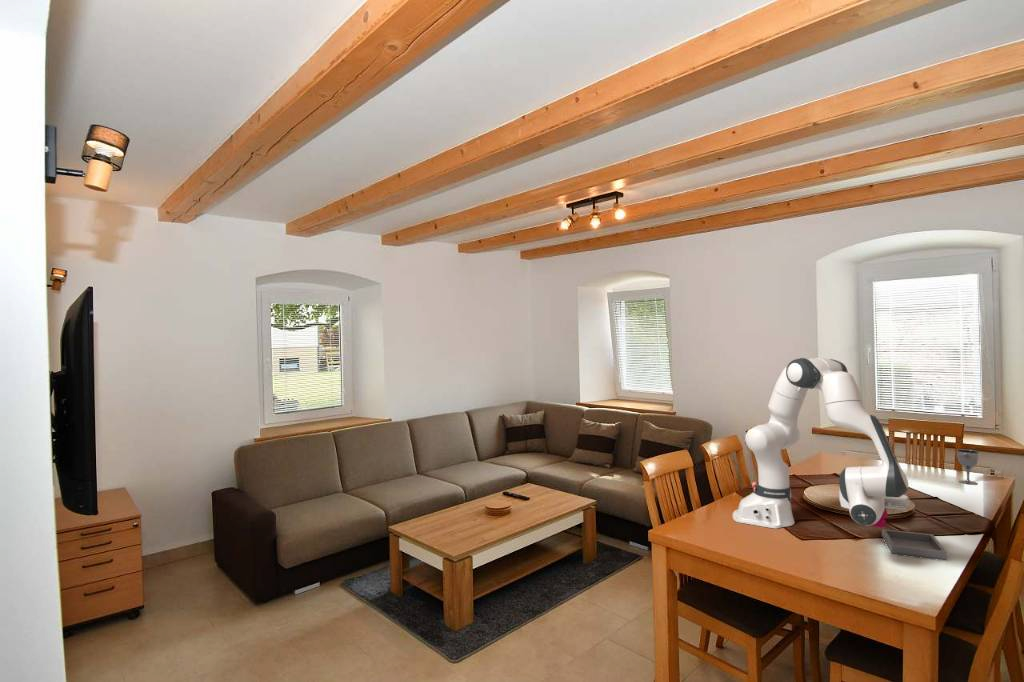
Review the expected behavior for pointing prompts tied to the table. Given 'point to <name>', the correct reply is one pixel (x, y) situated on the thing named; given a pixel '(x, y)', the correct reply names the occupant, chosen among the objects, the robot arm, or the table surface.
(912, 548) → the tray
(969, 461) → the wine glass
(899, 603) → the table surface
